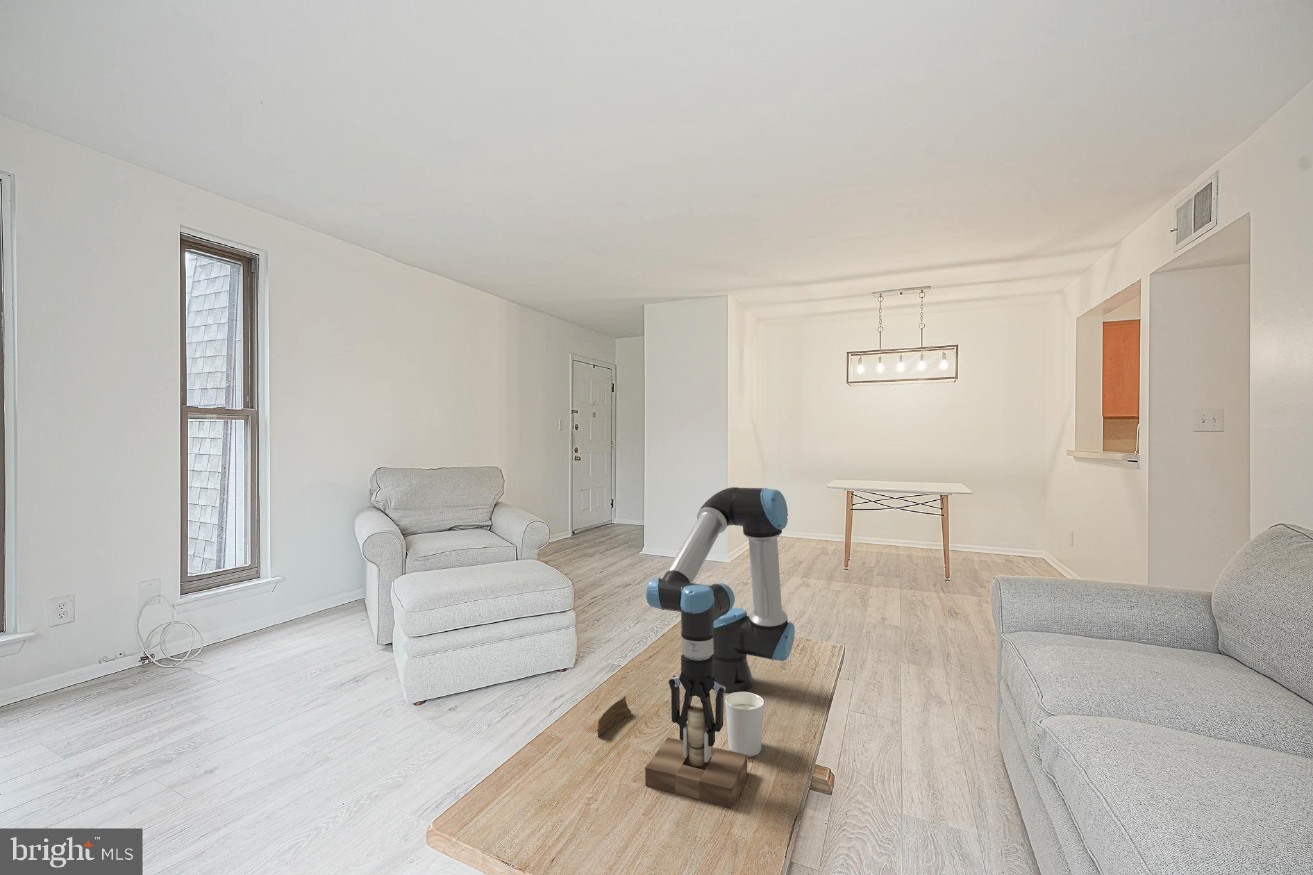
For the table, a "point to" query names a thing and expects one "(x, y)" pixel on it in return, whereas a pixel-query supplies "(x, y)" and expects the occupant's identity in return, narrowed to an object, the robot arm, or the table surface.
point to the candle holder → (744, 722)
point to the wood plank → (613, 715)
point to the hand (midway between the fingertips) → (697, 756)
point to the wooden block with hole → (697, 773)
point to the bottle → (696, 734)
